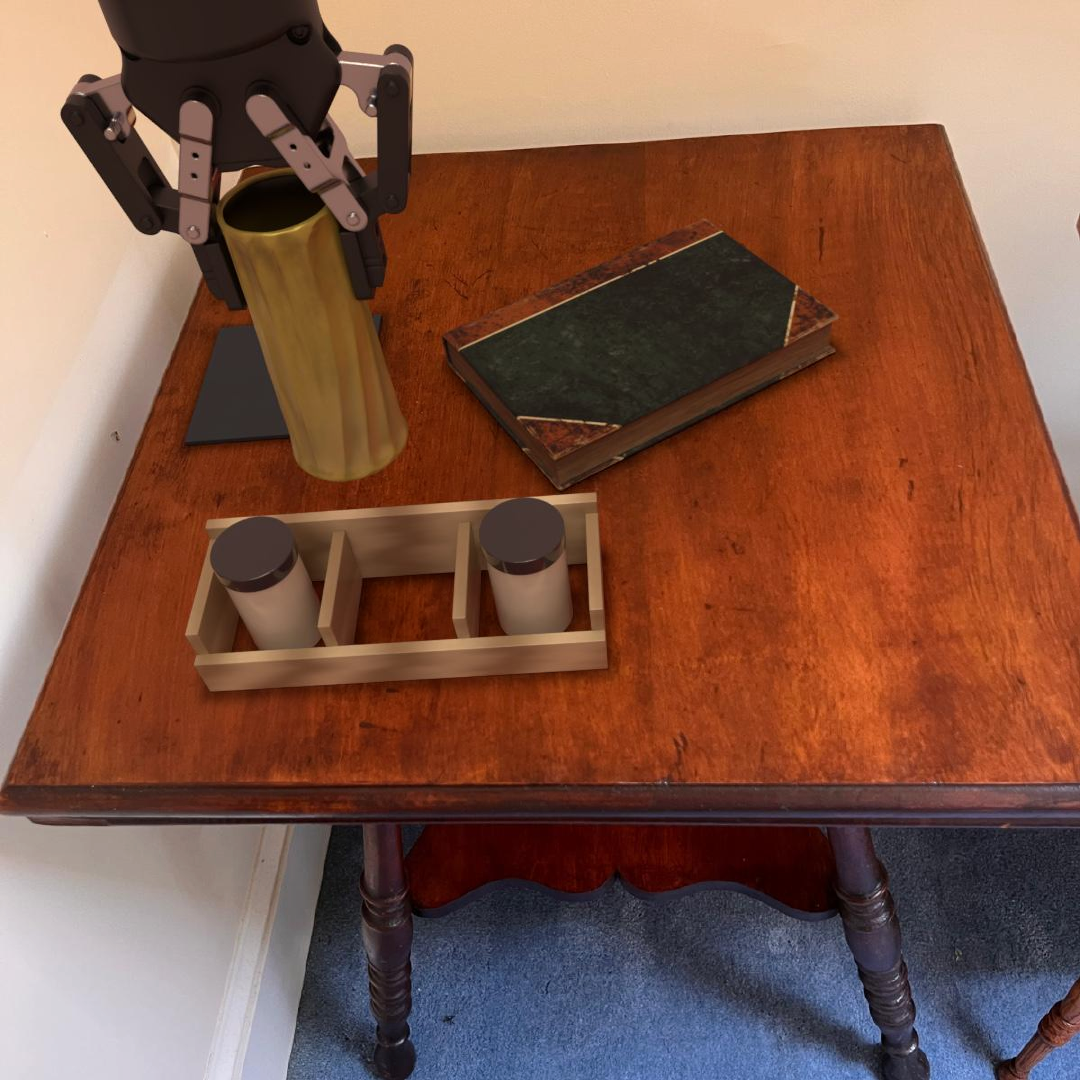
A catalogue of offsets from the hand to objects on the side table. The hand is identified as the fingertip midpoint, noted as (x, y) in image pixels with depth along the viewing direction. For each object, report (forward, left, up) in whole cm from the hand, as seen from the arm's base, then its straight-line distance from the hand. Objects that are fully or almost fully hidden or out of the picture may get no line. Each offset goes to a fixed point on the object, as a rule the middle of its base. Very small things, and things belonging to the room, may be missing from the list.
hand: (304, 293), depth 47 cm
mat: (-12, +25, -25) cm, 37 cm away
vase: (0, 0, -10) cm, 10 cm away
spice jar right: (+8, 0, -25) cm, 27 cm away
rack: (0, 0, -25) cm, 25 cm away
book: (+16, +24, -26) cm, 38 cm away
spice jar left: (-8, 0, -25) cm, 27 cm away
